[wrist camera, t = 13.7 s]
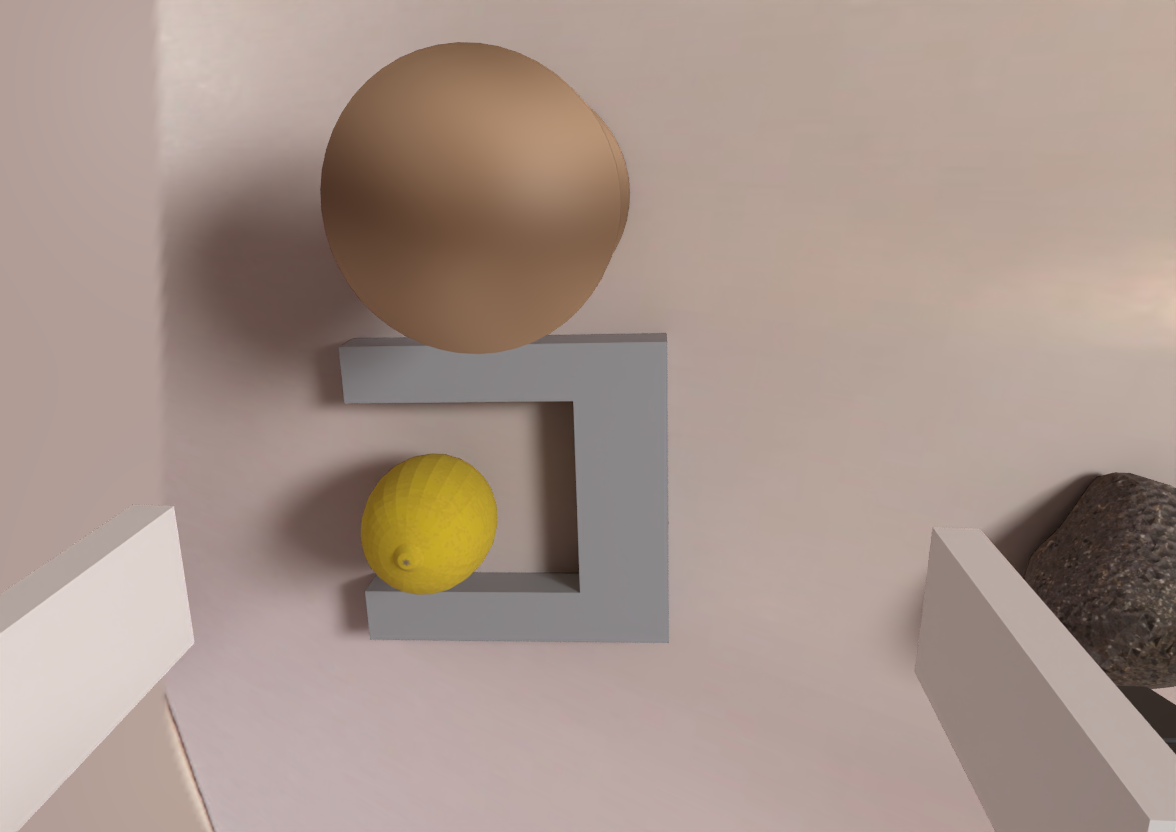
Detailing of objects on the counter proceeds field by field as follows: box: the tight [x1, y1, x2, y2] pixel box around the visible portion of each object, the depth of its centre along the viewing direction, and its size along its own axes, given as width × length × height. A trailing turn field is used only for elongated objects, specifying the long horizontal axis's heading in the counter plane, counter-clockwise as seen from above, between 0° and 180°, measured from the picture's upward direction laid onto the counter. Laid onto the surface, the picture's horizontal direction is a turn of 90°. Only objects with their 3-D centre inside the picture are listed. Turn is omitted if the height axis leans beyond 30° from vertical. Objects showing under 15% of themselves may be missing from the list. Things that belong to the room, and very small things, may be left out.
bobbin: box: [320, 42, 630, 354], centre depth 31 cm, size 9×9×11 cm
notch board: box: [338, 333, 669, 643], centre depth 39 cm, size 14×14×2 cm
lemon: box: [361, 454, 497, 595], centre depth 37 cm, size 6×6×8 cm
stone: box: [1024, 473, 1176, 689], centre depth 38 cm, size 10×8×10 cm
